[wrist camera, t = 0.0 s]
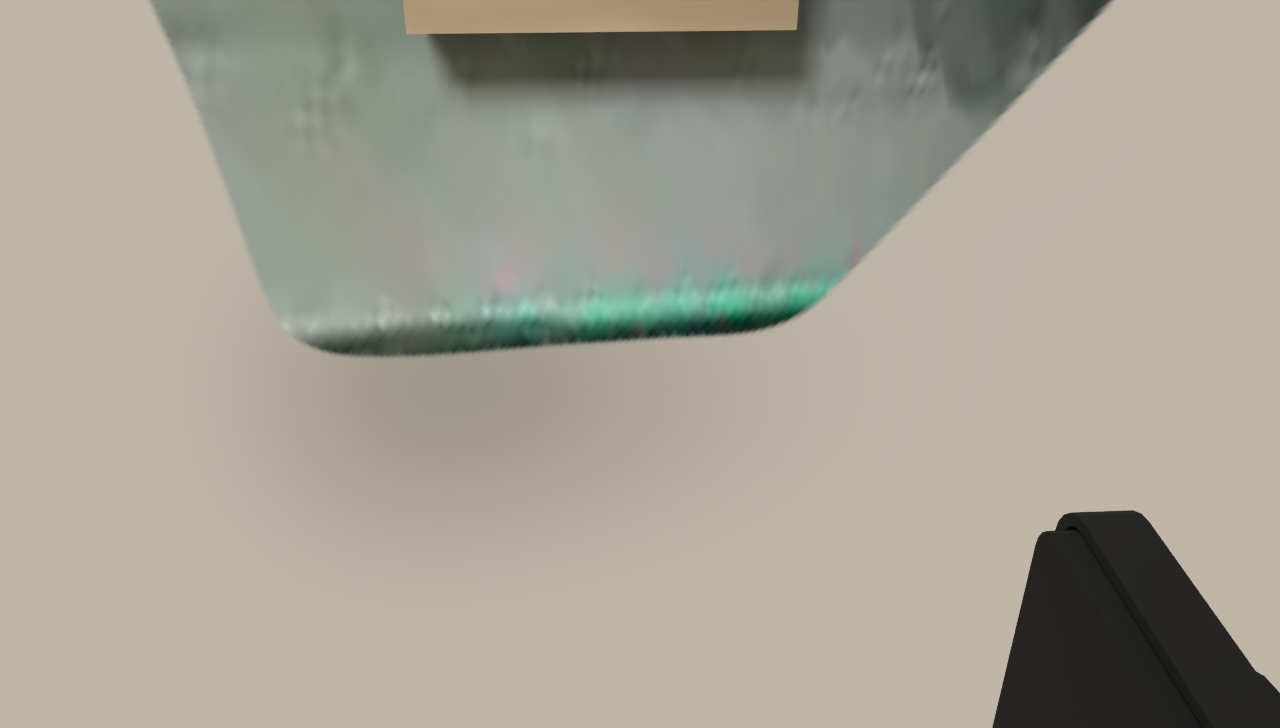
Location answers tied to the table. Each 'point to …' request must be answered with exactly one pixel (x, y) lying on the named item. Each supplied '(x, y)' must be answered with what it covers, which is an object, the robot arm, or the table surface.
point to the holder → (596, 15)
